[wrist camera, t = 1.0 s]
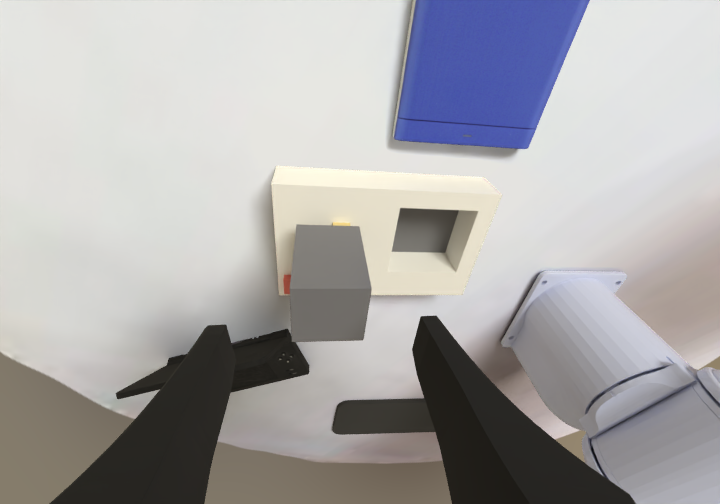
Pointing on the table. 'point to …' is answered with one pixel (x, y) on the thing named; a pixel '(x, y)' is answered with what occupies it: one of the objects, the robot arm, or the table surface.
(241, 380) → the handheld gaming console
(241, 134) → the table surface
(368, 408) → the phone
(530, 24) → the hard drive
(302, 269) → the plug
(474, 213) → the socket plate
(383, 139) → the table surface
